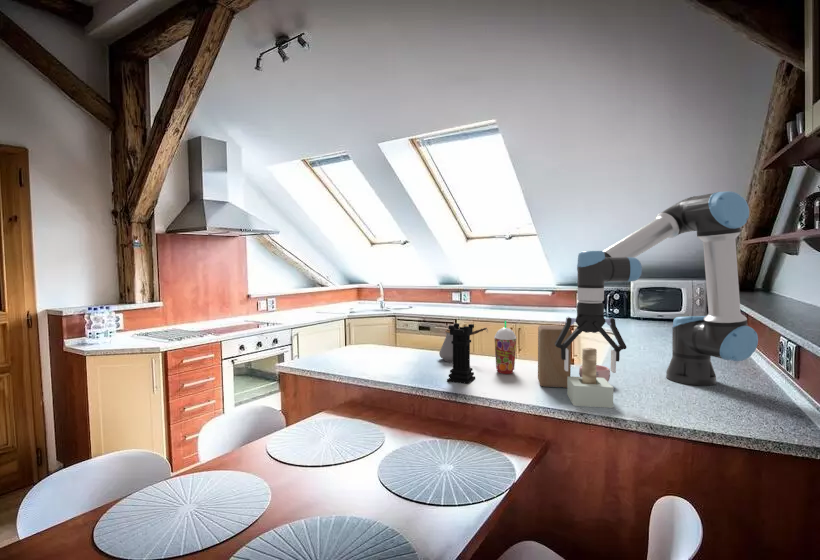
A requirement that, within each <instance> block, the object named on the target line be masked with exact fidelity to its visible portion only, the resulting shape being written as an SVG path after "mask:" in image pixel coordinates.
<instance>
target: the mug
mask: <svg viewBox="0 0 820 560" xmlns="http://www.w3.org/2000/svg"><path fill="white" fill-rule="evenodd" d="M578 375H579V377H582V365H580V366H579V370H578ZM610 377H611V369H610V368H609V367H608V366H605V365H599V364H596V378H605V379H606V380H607V381H608V382H610Z"/></svg>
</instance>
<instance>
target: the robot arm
mask: <svg viewBox="0 0 820 560" xmlns="http://www.w3.org/2000/svg"><path fill="white" fill-rule="evenodd" d="M749 217H750V207H749V204H748V202H747V201H746V199H745V198H744V197H743V196H741V194H739V193H738V192H735V191H716V192H713V193H706V194H703V195H697V196H695V195H694V196H690V197H686V198H685V199H682V200H680V201H678V202H676V203H675V204H673V205H671V206H669V207H668V208H666V209H664V210H663V211H660V212H659V213H658V214H656V216H655V218H654V219H653V220H652V221H650V222H649V223H647V224H645V225H643V226H642V227H641V228H639V229H637V230H636V231H633V232H632V233H630V234H628V235H627V236H626V237H624V238H622V239H620V240H619V241H617V242H615V243H613V244H612V245H610V246H609V247H607V248H606V249H604V250H583V251H580V252H578V255H577V265H576V271H577V290H576V291H577V293H576V294H577V298H576V299H577V301H578V302H577V304H576V307H577V308H576V310H577V311H576V317H570V316H567V317H565V324H564V325H563V326H564V327H563V329H562V331H561V333H560V335H559V337H558V338H557V340H556V342H555V346H556V347H558V348H561V359H562V360H564V369H565V371H568V353H569V350H568V349H567V347H568V346H569V345H570V344H571V345H572V343H573V342H574V340H575V339H577V338H578V336H579V335H580V334H582V333H583V332H584V333H589V334H590V333H593V334H597V333H598V332H599V333H600V334H601V336H602V337H603V338H604V339H605V340H606V341H607V343H609V345H610V346H611V347H612V348H613V349H611V350H610V372H611V373H613V374H617V373H616V372H617V362H620V358H621V357H620V356H621V355H620V352H621V351H622V350H626V349H627V345H626V342H625V341H624V339H623V337H622V335H621V333H620V331H619V329H618V327H617V326H616V325H617V323H616V318H613V317H608V318H605V315H604V313H605V311H604V310H605V304H604V301H605V283H608V282H609V283H611V282H612V283H613V282H614V283H616V282H617V283H624V282H625V283H629V282H636V281H637V280H639V279H640V277H641V275H642V274H643V273H642V272H643V270H642V268H643V267H642V266H643V265H642V264H641V261H640V260H639V259H638V258H637V257H638V256H640V255H642V254H643V253H646V252H647V251H649V250H650V249H652V248H653V247H655V246H657V245H658V244H660V243H662V242H663V241H664V240H667V239H673V238H676V237H677V236H679V235H682V234H684V233H689V232H695V231H696V238H698V239H699V240H700V241H701V242H702V245H703V246H702V247H703V259H704V272H705V281H706V283H705V284H706V295H707V297H706V299H707V307H708V308H707V309H708V313H707V315H690V316H685V315H684V316H676V317H675V318H673V323H672V327H671V328H672V330H671V331H672V333H671V334H672V335H671V336H672V342H671V344H672V345H671V348H672V351H671V353H672V356H671V359H670V361H669V364H668V366H667V369H666V371H665V372H666V373H665V375H666V379H668V380H669V381H672V382H675V383H678V384H679V383H680V384H684V385H692V386H713V385H716V383H717V375H716V373H715V370H714V366H713V364H712V360H711V359H712V358H711V357H715V358H718V359H722V360H724V361H732V362H743V361H746V360H748V359H749V358H751V356H752V355H753V354H754V353H755V352H756V350H757V347H758V343H759V336H758V333H757V331H755V328H752V327H751V326H749V325H748V318H747V317H746V316H745V314H742V313H741V300H740V299H741V298H740V284H739V273H738V271H739V270H738V259H737V258H738V257H737V244H736V239H737V237H739V235H740V234H741V232H742V231H741V228H742V227H743V226H744V225H746V224H747V222H748V220H749ZM574 323H576V325H577V327H576V328H575V329H574V330H573V331H572V332H571V335H570V336H569V337H568V338H567V339H566V340H565V341H564V342H563V344H561V343H562V341H563V339H564V338H565V336H566V334H567V332H568V330H569V329H571V326H572V325H574ZM605 324H606V325H608V326H609V328H610V330H611V331H612V334H613V335H614V337H615V340H616V341H617V343H618V344H617V343H616V342H615V341H614V340H613V339H612V338H611V336H610V335H609V334H608V333H607V332H606V330H605V329H604V325H605Z"/></svg>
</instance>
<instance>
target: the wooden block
mask: <svg viewBox="0 0 820 560" xmlns="http://www.w3.org/2000/svg"><path fill="white" fill-rule="evenodd" d="M563 327H564V325H556V324H555V325H550V324H548V325H546V324H541V325H538V328H537V330H538V331H537V379H538V382H539V385H540V386H541V387H542V386H543V387H546V388H560V387H563V389H564V388H565V389H567V376H571V372H572V371H571V366H572V365H571V364H572V363H571V362H572V361H571V360H572V359H571V358H572V357H571V354H572V352H571V351H572V350H571V349H572V343H571V344H570V345H569V346H568V347H567V349H568V350H569V353H568V371H565V369H564V360H562V359H561V348H558V347H556V346H555V342H556V340H557V338H558V337H559V335H560V333H561V331H562V329H563ZM571 334H572V331H571V328H569V330H568V332H567V334H566V336H565V338H564V339H563V341H562V343H561V344H563V342H564V341H565V340H566V339H567V338H568V337H569V336H570V335H571Z"/></svg>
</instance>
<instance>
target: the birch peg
mask: <svg viewBox="0 0 820 560" xmlns="http://www.w3.org/2000/svg"><path fill="white" fill-rule="evenodd" d="M581 349H582V356H581V357H582V358H581V359H582V360H581V362H582V363H581V364H582V365H581V366H582V384H596V365H597V358H598V357H597V356H598V355H597V353H598V352H597V349H596V348H593V347H583V348H581Z"/></svg>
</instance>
